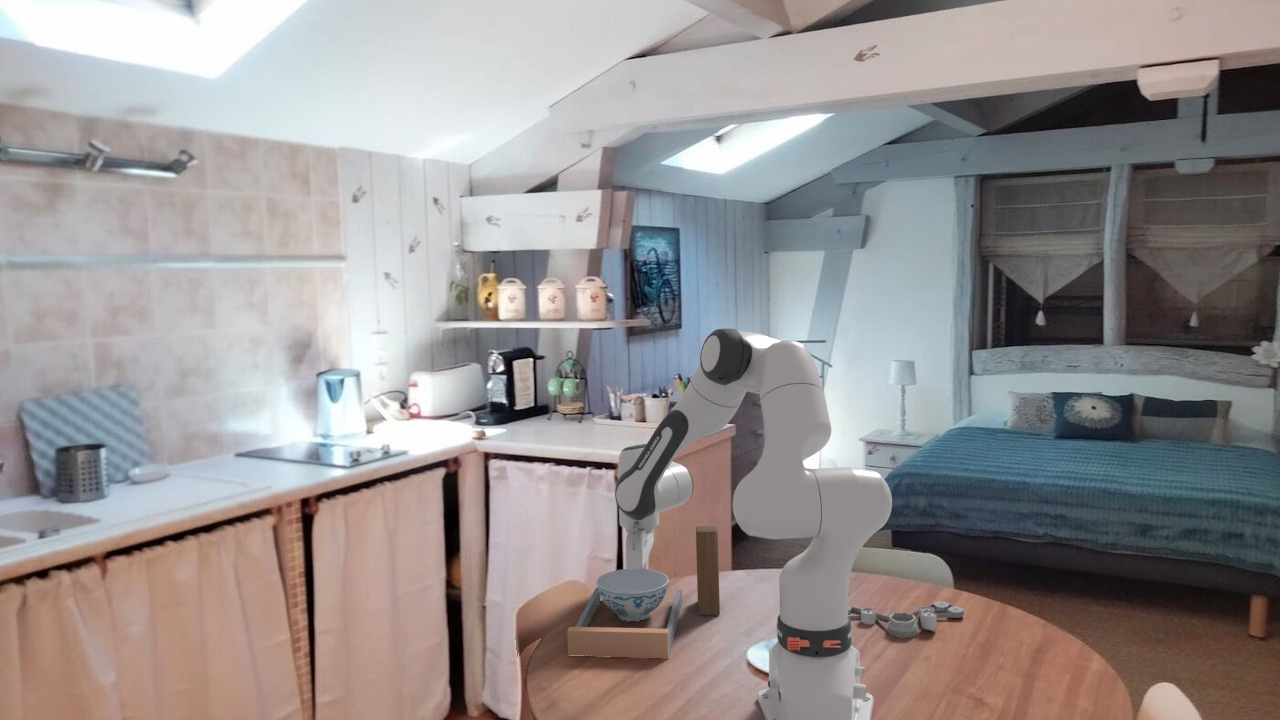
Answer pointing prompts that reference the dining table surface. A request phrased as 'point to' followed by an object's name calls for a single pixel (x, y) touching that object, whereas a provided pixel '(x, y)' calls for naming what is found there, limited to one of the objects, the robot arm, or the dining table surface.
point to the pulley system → (909, 618)
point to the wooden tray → (621, 635)
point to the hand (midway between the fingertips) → (641, 577)
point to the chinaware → (632, 592)
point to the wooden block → (707, 570)
